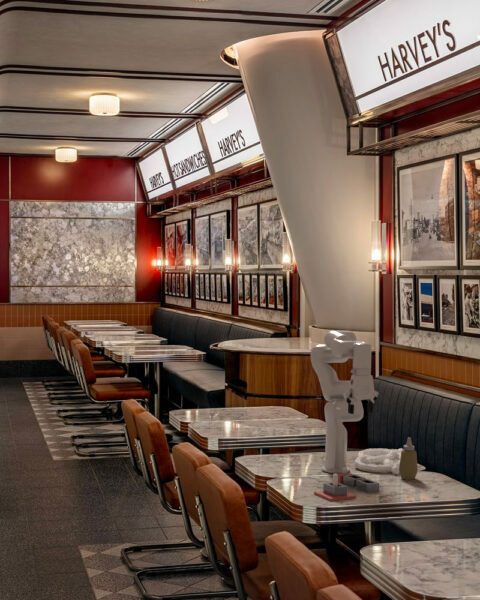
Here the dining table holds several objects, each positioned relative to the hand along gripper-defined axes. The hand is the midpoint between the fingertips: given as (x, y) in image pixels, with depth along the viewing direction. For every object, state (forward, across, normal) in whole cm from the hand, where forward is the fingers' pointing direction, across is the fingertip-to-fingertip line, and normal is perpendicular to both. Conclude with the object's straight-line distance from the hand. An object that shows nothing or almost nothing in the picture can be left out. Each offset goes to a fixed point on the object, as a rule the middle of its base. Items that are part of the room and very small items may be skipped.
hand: (360, 413), depth 370 cm
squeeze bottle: (+31, +27, +1) cm, 41 cm away
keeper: (+30, -20, -12) cm, 38 cm away
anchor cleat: (+30, -2, +8) cm, 31 cm away
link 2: (+30, -2, -9) cm, 32 cm away
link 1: (+30, -2, 0) cm, 30 cm away
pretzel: (+31, +30, +24) cm, 49 cm away
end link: (+29, -20, -12) cm, 37 cm away
